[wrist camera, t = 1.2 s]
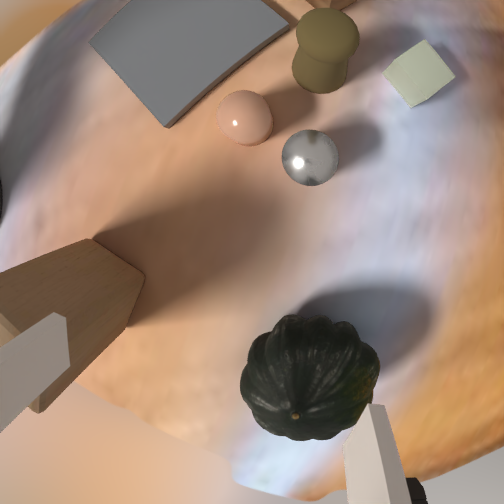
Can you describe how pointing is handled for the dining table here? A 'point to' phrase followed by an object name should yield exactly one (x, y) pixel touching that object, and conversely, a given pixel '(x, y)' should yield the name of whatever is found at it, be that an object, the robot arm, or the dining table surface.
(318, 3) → the walnut block
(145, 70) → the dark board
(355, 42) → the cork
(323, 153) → the metal tin
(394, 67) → the sage block
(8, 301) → the wooden block
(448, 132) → the dining table surface
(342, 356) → the squash
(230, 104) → the peach rounded capsule
